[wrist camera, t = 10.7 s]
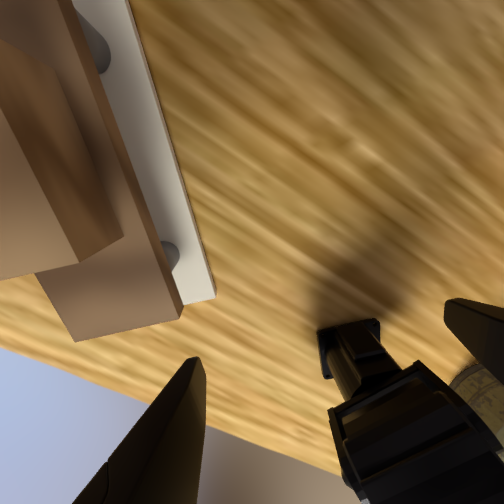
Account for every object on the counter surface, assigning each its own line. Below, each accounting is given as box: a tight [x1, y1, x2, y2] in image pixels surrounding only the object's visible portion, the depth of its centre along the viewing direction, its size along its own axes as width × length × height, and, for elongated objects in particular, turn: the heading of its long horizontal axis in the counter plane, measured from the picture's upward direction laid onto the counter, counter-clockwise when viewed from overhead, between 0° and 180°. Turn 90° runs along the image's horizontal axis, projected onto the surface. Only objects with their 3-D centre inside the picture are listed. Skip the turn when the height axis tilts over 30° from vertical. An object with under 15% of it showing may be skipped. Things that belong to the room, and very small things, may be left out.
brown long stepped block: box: [0, 0, 184, 342], centre depth 11 cm, size 20×7×6 cm, turn 12°
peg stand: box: [72, 0, 217, 305], centre depth 16 cm, size 24×10×5 cm, turn 12°
